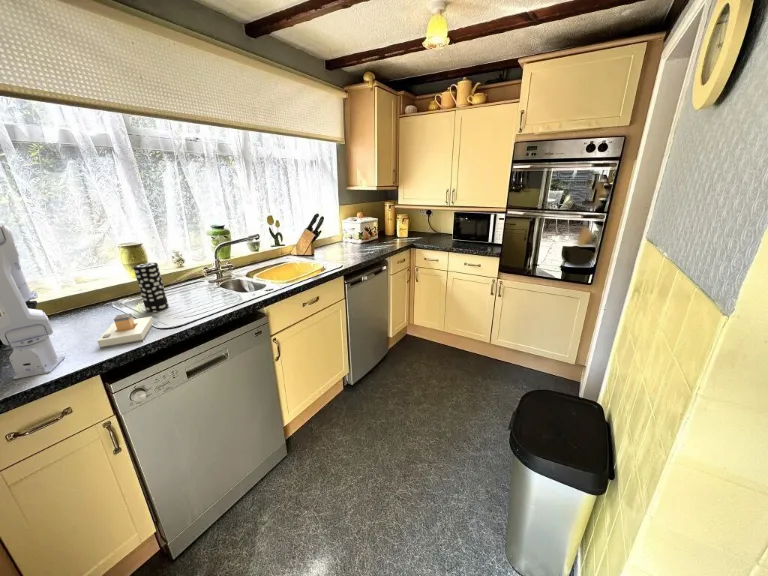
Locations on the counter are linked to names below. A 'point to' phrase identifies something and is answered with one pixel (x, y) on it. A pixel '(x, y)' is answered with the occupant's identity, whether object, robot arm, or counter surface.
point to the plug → (124, 322)
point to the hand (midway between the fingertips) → (30, 324)
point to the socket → (126, 333)
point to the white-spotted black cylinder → (151, 287)
